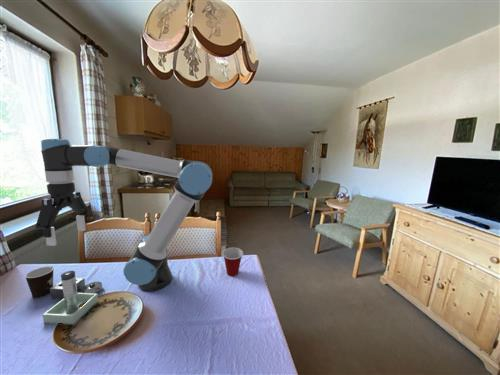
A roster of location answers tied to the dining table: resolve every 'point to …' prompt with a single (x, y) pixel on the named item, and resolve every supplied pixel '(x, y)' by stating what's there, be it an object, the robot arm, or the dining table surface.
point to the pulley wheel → (92, 288)
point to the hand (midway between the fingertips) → (68, 237)
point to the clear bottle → (70, 292)
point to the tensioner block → (58, 289)
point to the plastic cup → (232, 260)
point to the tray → (59, 313)
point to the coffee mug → (40, 281)
